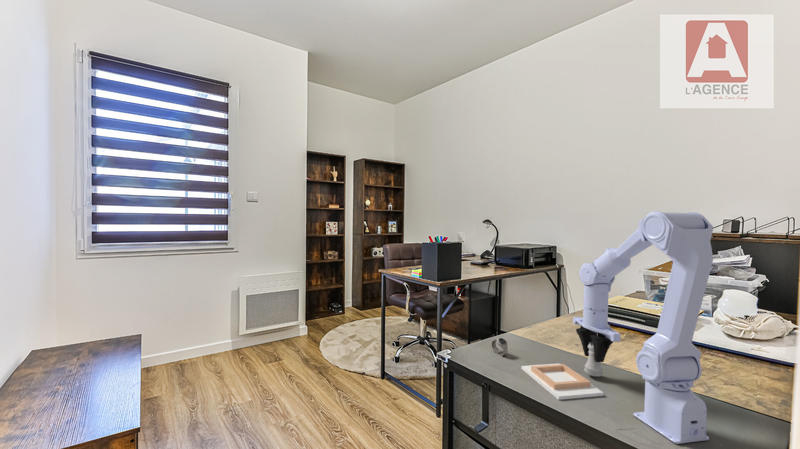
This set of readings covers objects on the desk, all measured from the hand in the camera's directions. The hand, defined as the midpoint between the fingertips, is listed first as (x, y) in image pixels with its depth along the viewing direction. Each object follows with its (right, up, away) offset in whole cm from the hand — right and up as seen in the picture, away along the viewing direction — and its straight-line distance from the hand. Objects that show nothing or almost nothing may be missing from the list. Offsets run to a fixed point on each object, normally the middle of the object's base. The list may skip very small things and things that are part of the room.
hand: (593, 358), depth 89 cm
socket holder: (-11, -5, -3) cm, 12 cm away
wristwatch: (-21, -5, +15) cm, 26 cm away
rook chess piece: (0, -4, 0) cm, 4 cm away
